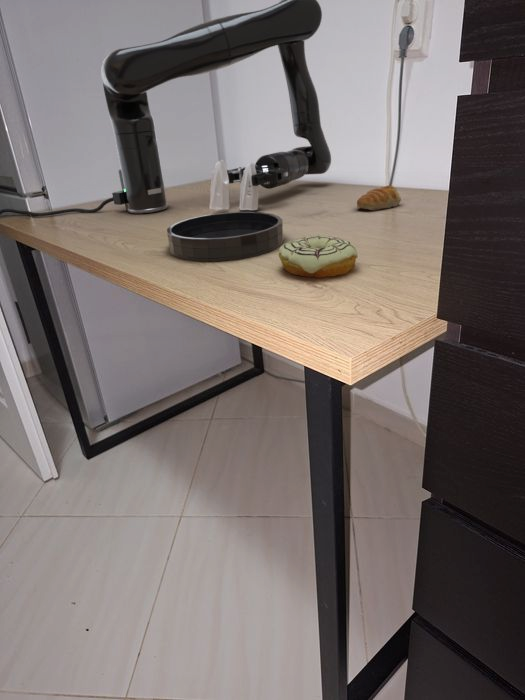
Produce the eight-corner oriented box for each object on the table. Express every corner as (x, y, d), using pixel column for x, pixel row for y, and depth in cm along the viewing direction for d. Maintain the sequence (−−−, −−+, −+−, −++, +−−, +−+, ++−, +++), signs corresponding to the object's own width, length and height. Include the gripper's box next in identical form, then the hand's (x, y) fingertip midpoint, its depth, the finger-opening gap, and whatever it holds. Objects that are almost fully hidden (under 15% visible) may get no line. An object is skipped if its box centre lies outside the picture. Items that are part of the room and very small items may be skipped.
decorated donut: (313, 287, 63) (312, 258, 62) (265, 269, 72) (263, 243, 70) (371, 267, 68) (372, 240, 67) (321, 253, 77) (320, 228, 75)
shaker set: (211, 218, 106) (204, 163, 101) (205, 215, 109) (199, 161, 104) (263, 210, 109) (259, 156, 104) (256, 207, 113) (252, 155, 108)
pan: (146, 254, 84) (142, 233, 82) (218, 227, 98) (216, 209, 96) (238, 267, 73) (235, 243, 72) (304, 235, 87) (303, 215, 86)
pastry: (373, 213, 99) (373, 193, 97) (348, 209, 103) (348, 191, 102) (403, 204, 104) (404, 185, 102) (377, 202, 108) (378, 183, 107)
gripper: (251, 153, 121) (209, 162, 110) (302, 152, 114) (262, 162, 102) (254, 185, 125) (213, 197, 113) (303, 186, 117) (265, 199, 106)
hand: (237, 180), depth 108 cm, fingers open, 8 cm apart
